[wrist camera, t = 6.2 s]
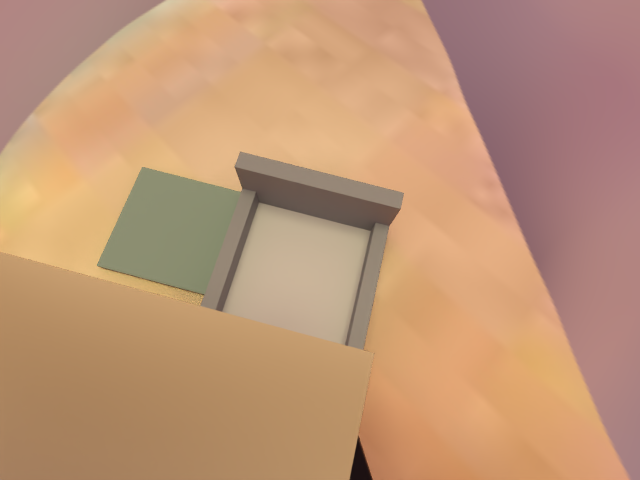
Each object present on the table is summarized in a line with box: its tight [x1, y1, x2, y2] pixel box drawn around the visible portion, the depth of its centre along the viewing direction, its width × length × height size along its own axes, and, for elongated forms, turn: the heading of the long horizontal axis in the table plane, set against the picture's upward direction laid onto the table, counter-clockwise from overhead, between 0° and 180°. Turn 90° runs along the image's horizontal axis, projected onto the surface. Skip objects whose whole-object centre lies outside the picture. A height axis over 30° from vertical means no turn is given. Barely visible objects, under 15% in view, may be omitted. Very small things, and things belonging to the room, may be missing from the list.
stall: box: [201, 152, 404, 350], centre depth 20 cm, size 9×9×6 cm
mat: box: [97, 167, 241, 295], centre depth 23 cm, size 7×7×1 cm
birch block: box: [0, 252, 374, 480], centre depth 8 cm, size 4×4×10 cm
